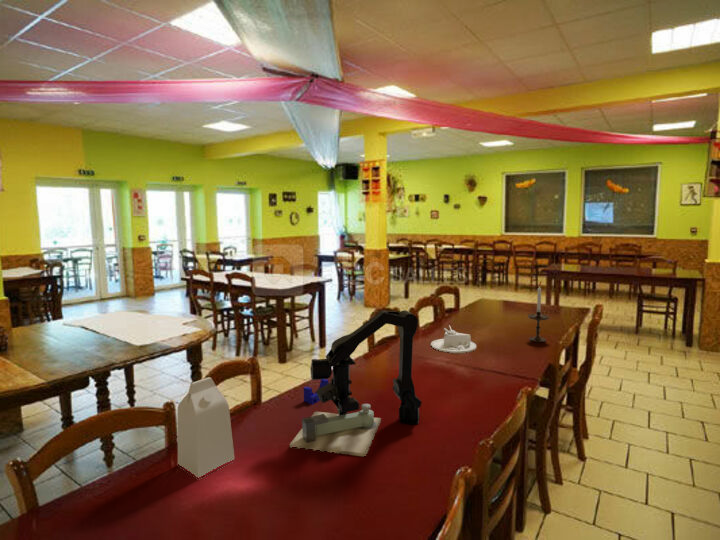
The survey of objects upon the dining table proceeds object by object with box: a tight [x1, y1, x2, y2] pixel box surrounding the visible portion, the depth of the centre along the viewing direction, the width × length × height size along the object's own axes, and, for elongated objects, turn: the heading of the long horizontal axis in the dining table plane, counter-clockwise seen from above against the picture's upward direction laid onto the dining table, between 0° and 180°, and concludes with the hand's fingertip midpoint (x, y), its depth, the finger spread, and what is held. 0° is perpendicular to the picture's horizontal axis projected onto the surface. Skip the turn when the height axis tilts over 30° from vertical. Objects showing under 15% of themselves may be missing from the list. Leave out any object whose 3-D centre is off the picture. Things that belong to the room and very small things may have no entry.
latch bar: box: [315, 403, 375, 435], centre depth 148 cm, size 21×5×6 cm, turn 111°
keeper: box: [301, 414, 328, 443], centre depth 143 cm, size 8×4×6 cm, turn 116°
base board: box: [289, 411, 382, 457], centre depth 148 cm, size 25×24×1 cm
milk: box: [177, 376, 236, 478], centre depth 130 cm, size 12×12×26 cm
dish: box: [430, 324, 477, 354], centre depth 243 cm, size 25×25×11 cm
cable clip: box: [303, 378, 330, 405], centre depth 177 cm, size 12×4×6 cm, turn 145°
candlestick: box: [528, 281, 550, 343], centre depth 250 cm, size 11×11×35 cm
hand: (341, 419), depth 151 cm, fingers closed
